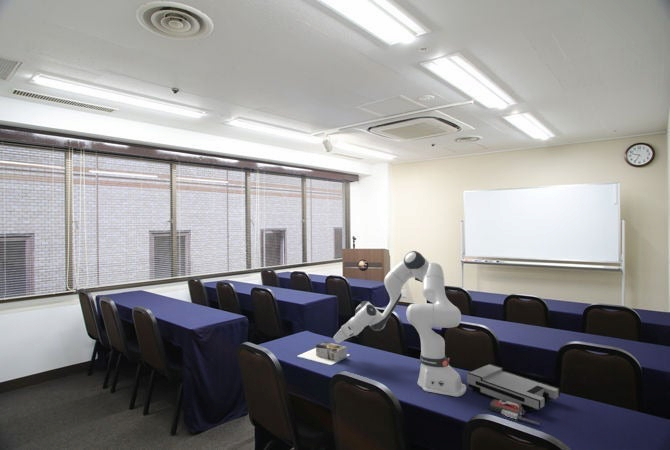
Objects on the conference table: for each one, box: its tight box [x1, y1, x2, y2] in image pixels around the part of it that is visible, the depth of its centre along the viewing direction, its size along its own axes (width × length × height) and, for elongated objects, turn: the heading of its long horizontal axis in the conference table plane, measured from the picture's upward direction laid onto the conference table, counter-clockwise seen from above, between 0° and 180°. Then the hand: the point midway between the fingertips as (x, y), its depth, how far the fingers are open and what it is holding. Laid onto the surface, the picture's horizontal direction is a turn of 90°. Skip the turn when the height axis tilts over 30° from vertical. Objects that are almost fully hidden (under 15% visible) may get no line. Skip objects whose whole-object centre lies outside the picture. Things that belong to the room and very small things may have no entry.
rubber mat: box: [296, 347, 351, 366], centre depth 217 cm, size 24×20×1 cm
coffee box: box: [315, 341, 348, 363], centre depth 215 cm, size 9×6×16 cm
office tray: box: [466, 363, 561, 413], centre depth 167 cm, size 21×32×8 cm, turn 38°
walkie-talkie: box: [486, 399, 541, 426], centre depth 150 cm, size 9×4×20 cm
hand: (338, 341), depth 211 cm, fingers closed
